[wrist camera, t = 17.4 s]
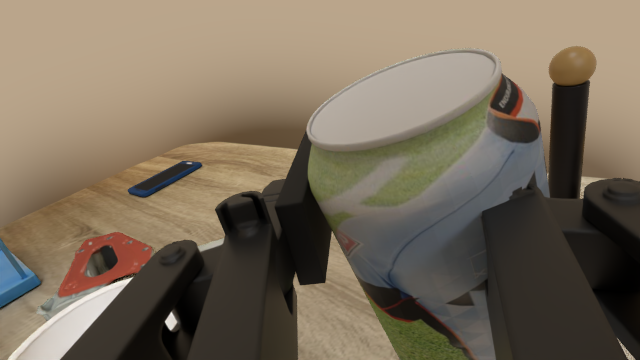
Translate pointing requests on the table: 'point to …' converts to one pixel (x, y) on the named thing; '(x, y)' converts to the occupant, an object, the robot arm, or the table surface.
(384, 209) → the beverage can
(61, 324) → the cup
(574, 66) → the can holder
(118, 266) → the tape dispenser
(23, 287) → the file sorter
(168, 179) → the cell phone
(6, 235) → the table surface
